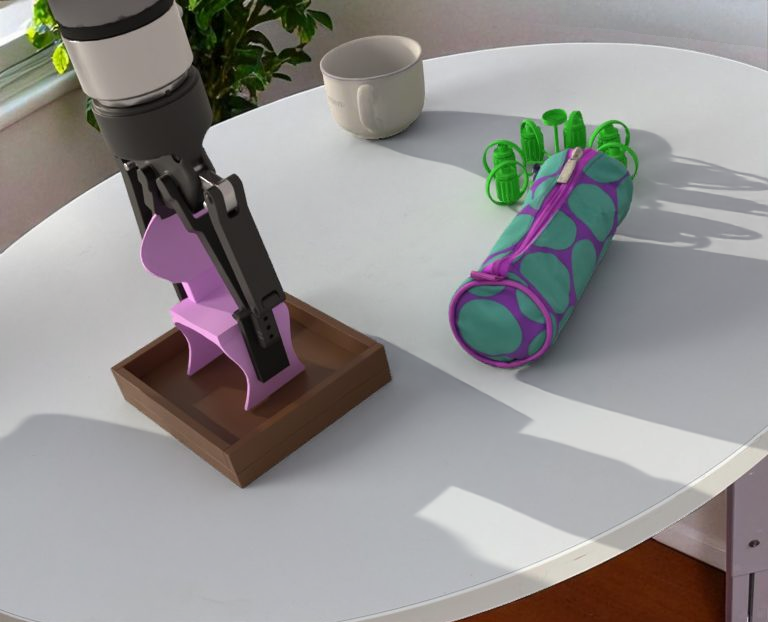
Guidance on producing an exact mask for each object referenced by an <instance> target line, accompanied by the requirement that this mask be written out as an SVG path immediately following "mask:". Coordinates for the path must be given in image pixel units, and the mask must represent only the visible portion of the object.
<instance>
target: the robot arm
mask: <svg viewBox="0 0 768 622" xmlns="http://www.w3.org/2000/svg"><path fill="white" fill-rule="evenodd" d="M9 1H11V0H0V2H9ZM46 1H47V5H48V6H49V9H50V11H51V13H52V15H53V18H54V20H55V22H56V24H57V26H58V29H59V31H60V32H59V33H60V37H61V39H62V42H63V44H64V47H65V50H66V52H67V54H68V57H69V59H70V62H71V64H72V67H73V69H74V72H75V74H76V77H77V79H78V81H79V84H80V86H81V89H82V92H83V93H84V94H86V95H87V96H88V97H90V98H91V100H90V108H91V111H92V114H93V115H94V118H95V121H96V123H97V125H98V128H99V130H100V133H101V135H102V137H103V140H104V143H105V145H106V147H107V149H108V151H109V152H110V153H111V155H112V157H113V159H114V161H115V164H116V166H117V167H118V170H119V173H121V177H122V180H123V183H124V186H125V190H126V192H127V196H128V199H129V202H130V206H131V208H132V212H133V215H134V218H135V222H136V224H137V225H136V226H137V228H138V231H139V234H140V237H141V240H143V238H144V235H145V232H146V230H147V227H148V225H149V223H150V221H151V219H152V217H153V216H154V214H156V215H160V217H161V219H162V220H163V219H166V218H168V217H170V216H172V215H174V214H176V213H177V214H178V216H179V218H180V220H181V221H182V223H183V225H184V227H185V228H186V230H187V231H188V232H190V233H195V234H196V235H197V236H198V238H199V239H200V241H201V243H202V245H203V247H204V248H205V250H206V252H207V254H208V255H209V257H210V259H211V261H212V262H213V264H214V266H215V268H216V269H217V271H218V273H219V275H220V276H221V278H222V280H223V282H224V283H225V285H226V287H227V289H228V290H229V292H230V294H231V296H232V297H233V299H234V301H235V303H236V305H237V306H238V308H239V309H238V310H236V311H234V314H232V317H233V318H234V319H235V320H236V321H237V323H238V326H239V328H240V331H241V334H242V337H243V340H244V342H245V345H246V348H247V351H248V354H249V356H250V359H251V362H252V365H253V367H254V370H255V373H256V376H257V379H258V380H259V381H260V382H262V383H265V382H267V381H268V380H269V379H271V378H272V377H274V376H275V375H277V374H278V373H280V372H281V371H282V370H284V369H285V368H287V367H288V366H290V363H289V360H288V357H287V354H286V351H285V348H284V345H283V341H282V338H281V335H280V332H279V329H278V326H277V323H276V320H275V317H274V314H273V311H272V309H273V308H274V307H276V306H278V305H279V304H281V303H282V302H284V301H285V300H286V296H285V293H284V291H285V290H284V288H283V285H282V284H281V282H280V279H279V276H278V274H277V272H276V270H275V269H276V268H275V267H274V265H273V262H272V260H271V257H270V254H269V253H268V251H267V248H266V245H265V243H264V240H263V239H262V236H261V234H260V231H259V228H258V227H257V224H256V222H255V220H254V219H255V218H254V217H253V215H252V213H251V210H250V208H249V205H248V201H247V195H246V191H245V186H244V184H243V180H242V179H241V177H239V176H238V174H236V173H231V174H230V175H228V176H227V177H225V178H224V177H222V176H221V175H218V174H217V171H216V167H215V166H214V164H213V162H212V160H211V159H210V157H209V155H208V154H207V152H206V149H205V147H204V145H203V143H204V139H205V136H206V134H207V133H208V131H209V130H210V128H211V126H212V123H213V121H214V119H213V118H214V114H213V110H212V107H211V104H210V100H209V98H208V95H207V91H206V88H205V85H204V82H203V80H202V76H201V73H200V70H199V69H198V68H197V67H196V66H194V64H192V63H193V62H194V54H193V50H192V48H191V45H190V42H189V38H188V36H187V32H186V30H185V26H184V22H183V19H182V17H183V15H184V11H183V7H182V6H181V5H179V3H177V2H176V0H46ZM203 209H206V210H208V212H206V213H204V214H203V215H201V216H199V217H198V218H195V217H194V216H193V215H194V214H196V213H198V212H200V211H201V210H203ZM171 284H172V286H173V289H174V291H175V293H176V297H177V299H178V301H179V302H181V301H183V300H184V299H186V298H188V295H187V293H186V291H185V289H184V287H183V284H182V282H181V283H171Z"/></svg>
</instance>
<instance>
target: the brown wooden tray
mask: <svg viewBox="0 0 768 622" xmlns="http://www.w3.org/2000/svg"><path fill="white" fill-rule="evenodd" d="M283 291H284V293H285V296H286V300H285V301H284V303H285V304H286V306H287V308H288V311H289V318H290V334H291V342H292V347H293V349H294V352H295V354H296V356H297V357H298V359H299V360H300V362H301V363H302V364H303V365H304V367H305V369H304V370H303V371H302V372H300V373H299V374H298V375H296V376H295V377H294V378H292V379H291V380H290V381H288V382H287V383H286V384H284V385H283V386H281V387H280V388H279V389H277V390H276V391H275V392H273V393H272V394H271V395H269V396H268V397H267V398H265V399H264V400H263V401H261V402H260V403H259V404H257V405H256V406H254V407H253V408H252V409H250V410H249V411H246V410H245V404H246V399H247V389H248V384H247V378H246V375H245V373H244V371H243V370H242V369H241V368H240V367H239V366H238V365H237V364H236V363H235V362H234V361H233V360H231V359H230V358H229V357H228V356H227V355H226V354H225V353H222V354H221V355H219V356H218V357H216V358H215V359H214V360H212V361H211V362H209V363H208V364H207V365H205V366H204V367H202V368H201V369H199V370H198V371H197V372H195V373H194V374H192V375H188V374H187V371H188V364H189V344H188V341H187V339H186V337H185V336H184V334H183V333H182V332H181V331H180V330H179V329H178V328H177V327H176V326H175V325H174V327H172V328H171V329H169V330H168V331H166V332H165V333H163V334H161V335H160V336H158V337H157V338H155V339H153V340H152V341H150V342H149V343H147V344H145V345H144V346H142V347H141V348H140V349H137V351H135V352H134V353H132V354H130V355H129V356H127V357H125V358H124V359H122V360H121V361H119V362H118V363H116V364H115V365H113V366H111V367H110V371H111V374H112V376H113V377H114V379H115V382H116V384H117V386H118V388H119V390H120V392H121V394H122V397H123V399H124V400H125V401H126V402H127V403H129V404H130V405H131V406H133V408H135V409H137V410H138V411H139V412H141V413H142V414H143V415H144V416H146V417H147V418H149V419H150V420H151V421H153V422H154V423H155V424H156V425H157V426H159V427H160V428H161V429H163V430H164V431H165V432H167V434H169V435H171V436H172V437H173V438H175V439H176V440H177V441H179V442H180V443H181V444H183V445H184V446H185V447H186V448H188V450H190V451H192V452H193V453H194V454H196V455H197V456H198V457H200V459H202V460H203V461H204V462H206V463H208V465H210V466H212V467H213V468H214V469H215V470H217V471H218V472H219V473H220V474H222V475H223V476H224V477H226V478H227V479H228V480H230V481H231V482H233V483H234V484H235V485H237V486H238V487H239V488H240V489H242V490H243V489H245V488H246V487H247V486H249V485H250V484H251V483H253V482H254V481H255V480H256V479H258V478H260V477H261V476H262V475H264V474H265V473H266V472H268V471H269V470H271V469H272V468H273V467H275V466H276V465H277V464H279V463H280V462H281V461H282V460H284V459H286V458H287V457H288V456H289V455H291V454H293V453H294V452H295V451H297V450H298V449H299V448H300V447H302V446H304V444H306V443H308V442H309V441H311V439H313V438H314V437H316V436H317V435H318V434H320V433H321V432H323V430H325V429H326V428H328V427H329V426H330V425H332V424H333V423H335V422H336V421H337V420H339V419H340V418H341V417H343V416H345V415H346V414H347V413H348V412H350V411H351V410H353V409H354V408H355V407H356V406H358V405H360V404H361V403H362V402H363V401H365V400H366V399H367V398H369V397H370V396H371V395H373V394H375V393H376V392H377V391H379V390H380V389H381V388H383V387H384V386H386V385H387V384H388V383H389V382H391V381H392V380H393V376H392V373H391V368H390V365H389V360H388V356H387V352H386V348H385V345H384V344H382V343H381V342H378V341H377V340H375V339H373V338H371V337H370V336H368V335H366V334H364V333H362V332H361V331H359V330H356V329H354V328H353V327H351V326H350V325H347V324H346V323H344V322H342V321H340V320H338V319H336V318H335V317H333V316H330V315H329V314H327V313H325V312H323V311H322V310H320V309H318V308H316V307H314V306H313V305H310V304H309V303H307V302H305V301H303V300H301V299H300V298H297V297H296V296H293V295H292V294H290V293H289V292H286V291H285V290H283Z"/></svg>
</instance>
